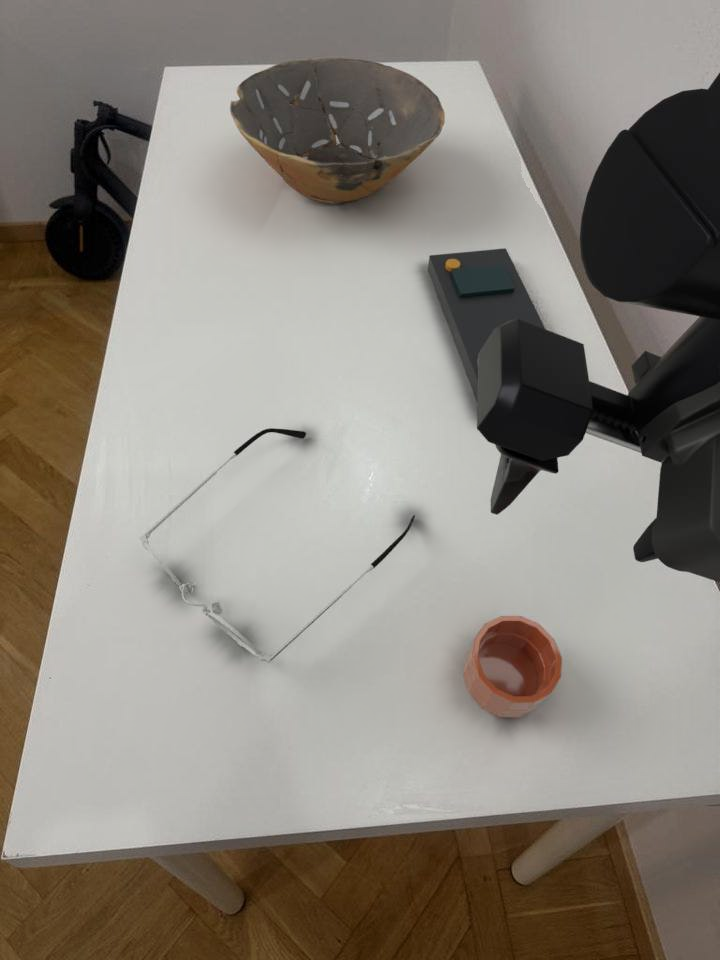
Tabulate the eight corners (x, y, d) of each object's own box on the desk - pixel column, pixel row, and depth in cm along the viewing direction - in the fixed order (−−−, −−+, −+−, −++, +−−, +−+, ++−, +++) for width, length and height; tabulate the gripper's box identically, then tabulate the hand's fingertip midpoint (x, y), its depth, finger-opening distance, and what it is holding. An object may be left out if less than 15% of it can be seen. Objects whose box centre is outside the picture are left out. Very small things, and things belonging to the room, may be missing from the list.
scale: (570, 405, 62) (578, 387, 60) (482, 416, 61) (487, 398, 59) (502, 262, 74) (507, 243, 72) (427, 269, 73) (430, 250, 71)
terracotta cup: (546, 646, 48) (563, 625, 45) (541, 728, 45) (559, 712, 41) (468, 629, 49) (478, 606, 45) (457, 709, 46) (468, 691, 42)
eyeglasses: (131, 558, 52) (113, 528, 47) (294, 427, 60) (291, 391, 55) (267, 693, 46) (260, 672, 42) (427, 528, 54) (435, 496, 50)
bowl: (457, 232, 77) (471, 151, 69) (253, 255, 74) (243, 172, 65) (405, 125, 91) (412, 47, 82) (231, 140, 87) (220, 60, 79)
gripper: (613, 381, 17) (401, 615, 29) (1110, 570, 21) (739, 713, 32) (577, 190, 25) (418, 440, 36) (952, 353, 28) (694, 535, 40)
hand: (566, 531), depth 36 cm, fingers open, 9 cm apart
